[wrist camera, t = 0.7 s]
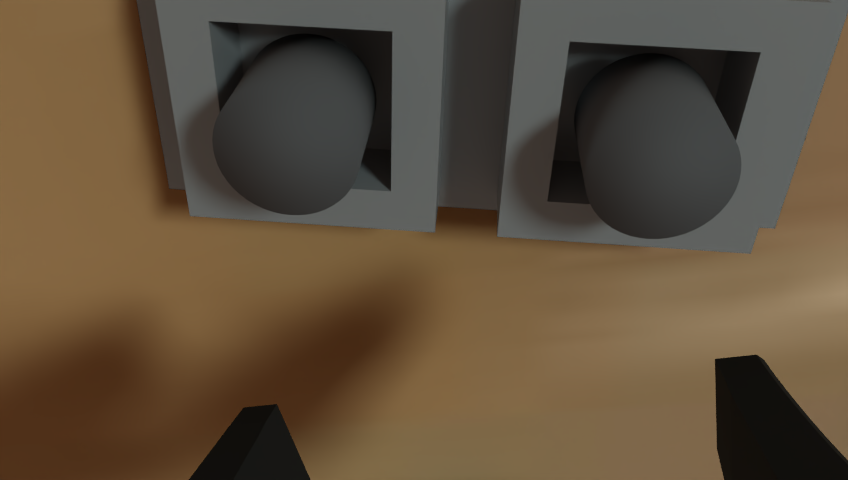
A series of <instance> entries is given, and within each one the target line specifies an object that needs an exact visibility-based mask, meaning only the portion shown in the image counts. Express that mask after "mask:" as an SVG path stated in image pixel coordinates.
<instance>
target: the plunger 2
mask: <svg viewBox="0 0 848 480" xmlns="http://www.w3.org/2000/svg"><path fill="white" fill-rule="evenodd" d="M574 127H575V134H576V139H577V145H578V150H579V156H580V161H581V167H582V173H583V178H584V184H585V189H586V194H587V197H588V200H589V203H590V205H591V207H592V208H593V210H594V212H595V213H596V214H597V215H598V216H599V218H600V219H601V220H602V221H604V222H605V223H606V224H607V225H609V226H610V227H611V228H613V229H615V230H617V231H619V232H621V233H623V234H626V235H629V236H633V237H637V238H644V239H663V238H670V237H675V236H679V235H682V234H686V233H688V232H691V231H693V230H695V229H697V228H699V227H701V226H703V225H704V224H706V223H707V222H709V221H710V220H712V219H713V218H714V217H715V216H716V215H717V214H719V213H720V212H721V211H722V209H723V208H724V207H725V206H726V205H727V204H728V202H729V201H730V199H731V198H732V196H733V194H734V192H735V191H736V188H737V185H738V183H739V179H740V175H741V155H740V151H739V147H738V145H737V143H736V140H735V138H734V136H733V134H732V133H731V131H730V129H729V127H728V125H727V123H726V121H725V119H724V118H723V116H722V114H721V112H720V110H719V108H718V106H717V104H716V103H715V101H714V99H713V97H712V95H711V93H710V91H709V89H708V88H707V86H706V84H705V82H704V80H703V79H702V77H701V76H700V75H699V74H698V73H697V71H696V70H695V69H694V68H692V67H691V66H690V65H689V64H687V63H685V62H684V61H682V60H680V59H677V58H675V57H672V56H669V55H665V54H657V53H643V54H636V55H632V56H628V57H625V58H622V59H619V60H617V61H615V62H613V63H611V64H609V65H608V66H606V67H605V68H603V69H602V70H601V71H600V72H598V73H597V74H596V75H595V76H594V77H593V78H592V79H591V80H590V81H589V82H588V84H587V85H586V87H585V88H584V89H583V91H582V93H581V95H580V97H579V99H578V102H577V105H576V109H575V115H574Z"/></svg>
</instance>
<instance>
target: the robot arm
mask: <svg viewBox="0 0 848 480" xmlns="http://www.w3.org/2000/svg"><path fill="white" fill-rule="evenodd" d="M715 377H716V422H717V450H718V455H719V459H720V463H721V468H722V472H723V476H724V480H848V460H847V459H846V458H845V457H844V456H843V455H842V454H841V453H840V452H839V451H838V450H837V448H836V447H835V446H834V445H833V444H832V443H831V442H830V441H829V440H828V439H827V438H826V437H825V435H824V434H823V433H822V432H821V431H820V430H819V429H818V427H817V426H816V425H815V424H814V423H813V422H812V421H811V419H810V418H809V417H808V416H807V415H806V413H805V412H804V411H803V410H802V409H801V407H800V406H799V405H798V404H797V403H796V401H795V400H794V399H793V398H792V396H791V395H790V394H789V393H788V391H787V390H786V389H785V388H784V386H783V385H782V384H781V383H780V381H779V380H778V379H777V377H776V376H775V375H774V373H773V372H772V371H771V369H770V368H769V366H768V365H767V364H766V362H765V361H764V360H763V359H762V358H761V357H759V356H758V355H750V356H740V357H730V358H721V359H715ZM189 480H310V478H309V475H308V473H307V471H306V469H305V466H304V464H303V462H302V460H301V457H300V455H299V453H298V451H297V448H296V446H295V444H294V442H293V439H292V437H291V435H290V433H289V430H288V428H287V426H286V424H285V421H284V419H283V417H282V415H281V412H280V410H279V408H278V406H277V404H274V405H265V406H255V407H245V408H243V409H242V411H241V412H240V413H239V414H238V416H237V417H236V418H235V420H234V421H233V422H232V424H231V425H230V426H229V427H228V429H227V430H226V431H225V433H224V434H223V435H222V437H221V438H220V439H219V441H218V442H217V443H216V445H215V446H214V447H213V449H212V450H211V451H210V453H209V454H208V455H207V457H206V458H205V459H204V460H203V462H202V463H201V464H200V466H199V467H198V468H197V470H196V471H195V472H194V474H193V475H192V476H191V478H190V479H189Z"/></svg>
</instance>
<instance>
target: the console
mask: <svg viewBox="0 0 848 480" xmlns="http://www.w3.org/2000/svg"><path fill="white" fill-rule="evenodd" d="M137 6H138V12H139V17H140V23H141V29H142V35H143V40H144V46H145V52H146V57H147V63H148V69H149V75H150V80H151V86H152V92H153V97H154V103H155V109H156V115H157V120H158V126H159V132H160V138H161V143H162V149H163V155H164V160H165V166H166V172H167V178H168V183H169V189H182V190H186V195H187V201H188V207H189V213H190V216H198V217H213V218H227V219H242V220H257V221H272V222H287V223H302V224H317V225H332V226H347V227H362V228H376V229H391V230H406V231H421V232H435V227H436V218H437V210H438V206H441V207H456V208H471V209H486V210H497V237H511V238H525V239H540V240H555V241H570V242H585V243H600V244H615V245H630V246H645V247H660V248H674V249H689V250H704V251H719V252H734V253H749V254H751V251H752V248H753V245H754V242H755V239H756V235H757V232H758V229H759V227H760V228H775V226H776V223H777V220H778V217H779V214H780V211H781V208H782V205H783V203H784V200H785V197H786V194H787V191H788V188H789V185H790V182H791V179H792V176H793V173H794V170H795V167H796V164H797V161H798V158H799V155H800V152H801V149H802V146H803V143H804V140H805V137H806V134H807V131H808V129H809V126H810V123H811V120H812V117H813V114H814V111H815V108H816V105H817V102H818V99H819V96H820V93H821V90H822V87H823V84H824V81H825V78H826V75H827V72H828V69H829V66H830V63H831V60H832V57H833V54H834V52H835V49H836V46H837V43H838V40H839V37H840V34H841V31H842V28H843V25H844V22H845V19H846V16H847V13H848V0H137ZM293 34H316V35H321V36H325V37H328V38H330V39H333V40H335V41H337V42H339V43H341V44H343V45H344V46H345V47H347V48H348V49H350V50H351V51H352V52H353V53H354V54H355V55H357V57H358V58H359V59H360V60H361V61H362V62H363V64H364V65H365V67H366V68H367V69H368V71H369V73H370V75H371V77H372V80H373V83H374V86H375V91H376V111H375V116H374V119H373V123H372V126H371V130H370V133H369V137H368V140H367V144H366V147H365V151H364V154H363V158H362V161H361V165H360V168H359V172H358V175H357V178H356V180H355V183H354V184H353V186H352V188H351V189H350V191H349V192H348V193H347V194H346V196H344V197H343V198H342V199H341V200H340V201H339V202H338V203H336V204H335V205H333V206H331V207H329V208H327V209H326V210H323V211H320V212H317V213H313V214H307V215H286V214H280V213H275V212H272V211H269V210H266V209H263V208H261V207H259V206H257V205H255V204H253V203H251V202H250V201H248V200H247V199H245V198H244V197H243V196H241V195H240V194H239V193H238V192H237V191H236V190H235V189H233V188H232V186H231V185H230V184H229V183H228V182H227V180H226V179H225V177H224V176H223V174H222V173H221V171H220V169H219V167H218V165H217V162H216V159H215V156H214V151H213V143H212V137H213V129H214V125H215V122H216V119H217V117H218V115H219V113H220V111H221V110H222V108H223V107H224V105H225V103H226V102H227V100H228V99H229V97H230V96H231V94H232V93H233V91H234V90H235V88H236V87H237V85H238V84H239V82H240V81H241V79H242V77H243V76H244V74H245V73H246V71H247V70H248V68H249V67H250V65H251V64H252V62H253V61H254V59H255V58H256V56H257V55H258V54H259V53H260V51H261V50H262V49H263V48H265V47H266V46H267V45H268V44H270V43H271V42H273V41H275V40H277V39H279V38H281V37H284V36H288V35H293ZM643 53H657V54H665V55H669V56H672V57H675V58H677V59H680V60H682V61H684V62H685V63H687V64H689V65H690V66H691V67H692V68H694V69H695V70H696V71H697V73H698V74H699V75H700V76H701V77H702V79H703V80H704V82H705V84H706V86H707V88H708V89H709V91H710V93H711V95H712V97H713V99H714V101H715V103H716V104H717V106H718V108H719V110H720V112H721V114H722V116H723V118H724V119H725V121H726V123H727V125H728V127H729V129H730V131H731V133H732V134H733V136H734V138H735V140H736V143H737V145H738V147H739V151H740V155H741V175H740V179H739V183H738V185H737V188H736V191H735V192H734V194H733V196H732V198H731V199H730V201H729V202H728V204H727V205H726V206H725V207H724V208H723V209H722V211H721V212H720V213H719V214H717V215H716V216H715V217H714V218H713V219H712V220H710V221H709V222H707V223H706V224H704V225H703V226H701V227H699V228H697V229H695V230H693V231H691V232H688V233H686V234H682V235H679V236H675V237H670V238H663V239H644V238H637V237H633V236H629V235H626V234H623V233H621V232H619V231H617V230H615V229H613V228H611V227H610V226H609V225H607V224H606V223H605V222H604V221H602V220H601V219H600V218H599V216H598V215H597V214H596V213H595V212H594V210H593V208H592V207H591V205H590V203H589V200H588V197H587V194H586V189H585V184H584V178H583V173H582V167H581V161H580V156H579V150H578V145H577V139H576V134H575V127H574V115H575V109H576V105H577V102H578V99H579V97H580V95H581V93H582V91H583V89H584V88H585V87H586V85H587V84H588V82H589V81H590V80H591V79H592V78H593V77H594V76H595V75H596V74H597V73H598V72H600V71H601V70H602V69H603V68H605V67H606V66H608V65H609V64H611V63H613V62H615V61H617V60H619V59H622V58H625V57H628V56H632V55H636V54H643Z"/></svg>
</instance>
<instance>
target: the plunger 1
mask: <svg viewBox="0 0 848 480" xmlns="http://www.w3.org/2000/svg"><path fill="white" fill-rule="evenodd" d="M375 111H376V91H375V86H374V83H373V80H372V77H371V75H370V73H369V71H368V69H367V68H366V67H365V65H364V64H363V62H362V61H361V60H360V59H359V58H358V57H357V55H355V54H354V53H353V52H352V51H351V50H350V49H348V48H347V47H345V46H344V45H343V44H341V43H339V42H337V41H335V40H333V39H330V38H328V37H325V36H321V35H316V34H293V35H288V36H284V37H281V38H279V39H277V40H275V41H273V42H271V43H270V44H268V45H267V46H266V47H265V48H263V49H262V50H261V51H260V53H259V54H258V55H257V56H256V58H255V59H254V61H253V62H252V64H251V65H250V67H249V68H248V70H247V71H246V73H245V74H244V76H243V77H242V79H241V81H240V82H239V84H238V85H237V87H236V88H235V90H234V91H233V93H232V94H231V96H230V97H229V99H228V100H227V102H226V103H225V105H224V107H223V108H222V110H221V111H220V113H219V115H218V117H217V119H216V122H215V125H214V129H213V137H212V143H213V151H214V156H215V159H216V162H217V165H218V167H219V169H220V171H221V173H222V174H223V176H224V177H225V179H226V180H227V182H228V183H229V184H230V185H231V186H232V188H233V189H235V190H236V191H237V192H238V193H239V194H240V195H241V196H243V197H244V198H245V199H247V200H248V201H250V202H251V203H253V204H255V205H257V206H259V207H261V208H263V209H266V210H269V211H272V212H275V213H280V214H286V215H307V214H313V213H317V212H320V211H323V210H326V209H327V208H329V207H331V206H333V205H335V204H336V203H338V202H339V201H340V200H341V199H342V198H343V197H344V196H346V194H347V193H348V192H349V191H350V189H351V188H352V186H353V184H354V183H355V180H356V178H357V175H358V172H359V168H360V165H361V161H362V158H363V154H364V151H365V147H366V144H367V140H368V137H369V133H370V130H371V126H372V123H373V119H374V116H375Z"/></svg>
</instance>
